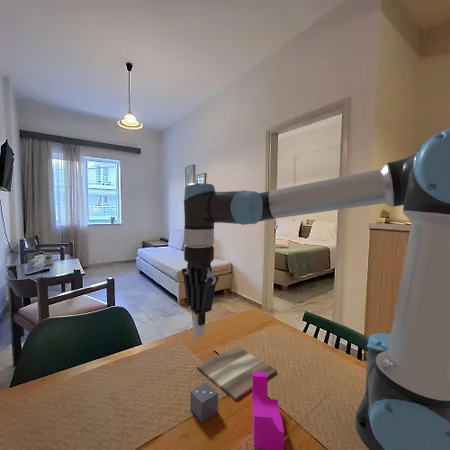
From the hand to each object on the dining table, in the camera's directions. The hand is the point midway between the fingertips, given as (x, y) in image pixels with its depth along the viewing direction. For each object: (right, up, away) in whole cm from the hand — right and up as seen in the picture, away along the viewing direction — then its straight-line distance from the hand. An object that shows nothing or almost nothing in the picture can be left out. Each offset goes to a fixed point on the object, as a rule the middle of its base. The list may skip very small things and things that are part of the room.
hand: (198, 335), depth 66 cm
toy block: (+17, -19, -4) cm, 26 cm away
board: (+10, -18, +15) cm, 25 cm away
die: (+1, -19, -1) cm, 19 cm away
